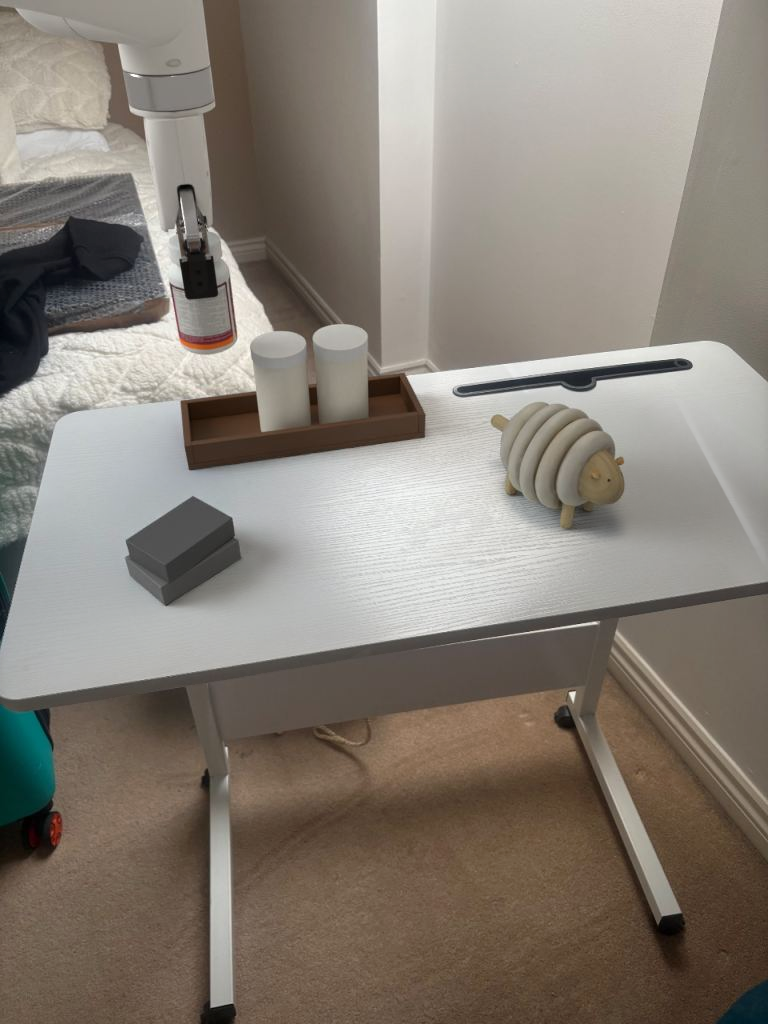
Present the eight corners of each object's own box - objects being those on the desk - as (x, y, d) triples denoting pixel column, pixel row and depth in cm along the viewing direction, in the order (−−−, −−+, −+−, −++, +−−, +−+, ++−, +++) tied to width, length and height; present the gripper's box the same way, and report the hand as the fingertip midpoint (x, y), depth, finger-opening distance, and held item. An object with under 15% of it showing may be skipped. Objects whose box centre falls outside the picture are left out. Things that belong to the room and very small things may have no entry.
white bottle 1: (270, 447, 96) (261, 362, 88) (252, 420, 100) (242, 338, 93) (320, 433, 98) (314, 349, 91) (300, 408, 102) (293, 326, 95)
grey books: (166, 607, 77) (157, 569, 74) (128, 574, 80) (117, 537, 77) (243, 558, 82) (238, 521, 79) (204, 529, 86) (197, 492, 83)
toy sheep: (584, 559, 82) (603, 469, 75) (454, 487, 91) (459, 400, 84) (640, 510, 88) (662, 422, 81) (512, 446, 97) (522, 362, 90)
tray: (188, 470, 93) (184, 446, 91) (184, 423, 101) (180, 400, 99) (424, 437, 98) (425, 413, 96) (404, 395, 106) (404, 372, 104)
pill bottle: (198, 326, 92) (181, 224, 85) (248, 334, 90) (236, 231, 83) (169, 351, 87) (149, 246, 80) (221, 360, 86) (206, 254, 79)
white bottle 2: (330, 438, 97) (325, 354, 90) (310, 413, 101) (304, 330, 94) (378, 425, 99) (377, 342, 92) (356, 400, 103) (353, 319, 96)
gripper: (127, 70, 79) (160, 253, 90) (126, 118, 66) (165, 324, 77) (206, 66, 80) (229, 247, 92) (221, 112, 67) (245, 316, 79)
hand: (199, 281), depth 84 cm, fingers closed on pill bottle, 6 cm apart
